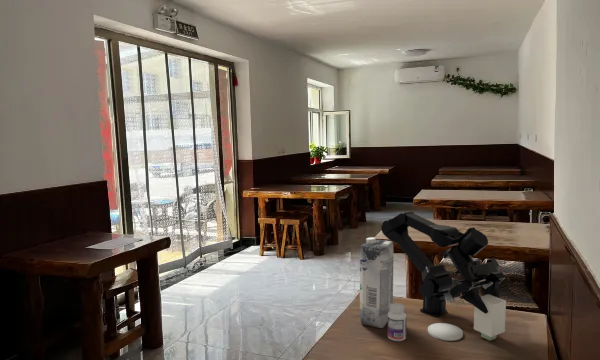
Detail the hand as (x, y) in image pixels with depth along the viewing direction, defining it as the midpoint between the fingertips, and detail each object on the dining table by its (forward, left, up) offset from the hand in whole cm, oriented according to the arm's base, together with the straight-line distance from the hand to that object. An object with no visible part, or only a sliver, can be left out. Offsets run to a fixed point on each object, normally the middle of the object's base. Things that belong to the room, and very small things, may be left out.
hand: (494, 310), depth 131 cm
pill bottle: (-19, -20, -9) cm, 29 cm away
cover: (-1, 0, -7) cm, 7 cm away
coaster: (-11, -7, -9) cm, 16 cm away
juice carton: (-30, -16, -9) cm, 35 cm away
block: (-1, 0, -9) cm, 9 cm away
